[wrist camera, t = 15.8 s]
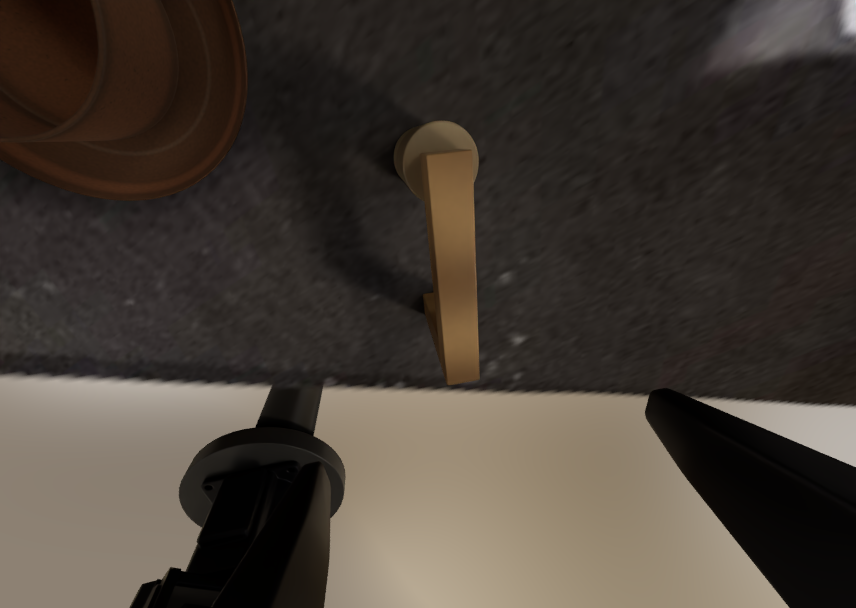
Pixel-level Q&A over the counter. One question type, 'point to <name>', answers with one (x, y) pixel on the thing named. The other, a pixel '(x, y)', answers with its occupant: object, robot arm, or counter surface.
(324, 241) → the counter surface
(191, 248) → the counter surface
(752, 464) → the robot arm
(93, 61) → the cup and saucer
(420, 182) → the brown bracket-shaped piece
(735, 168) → the counter surface
